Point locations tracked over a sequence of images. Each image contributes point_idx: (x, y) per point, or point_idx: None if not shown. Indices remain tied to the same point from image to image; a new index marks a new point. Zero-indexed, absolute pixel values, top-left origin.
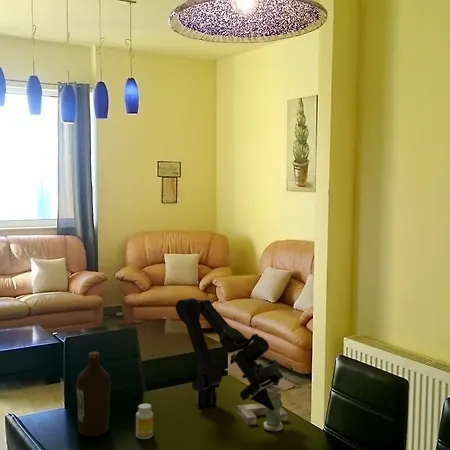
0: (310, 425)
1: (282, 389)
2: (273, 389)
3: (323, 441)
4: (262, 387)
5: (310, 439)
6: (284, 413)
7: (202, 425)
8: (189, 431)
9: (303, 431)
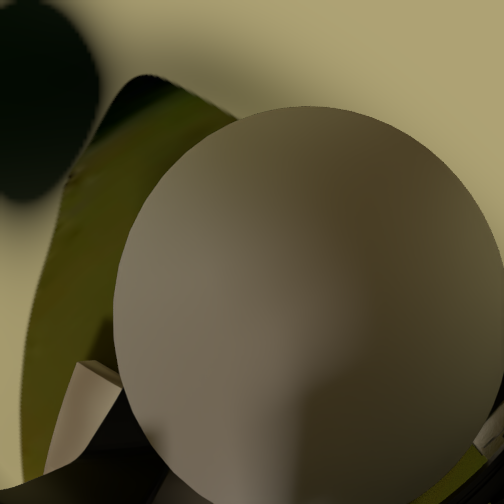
0: (55, 239)
1: (230, 131)
2: (441, 239)
3: (163, 108)
4: (454, 496)
5: (185, 142)
6: (87, 379)
7: (442, 496)
8: (486, 460)
9: (134, 212)
